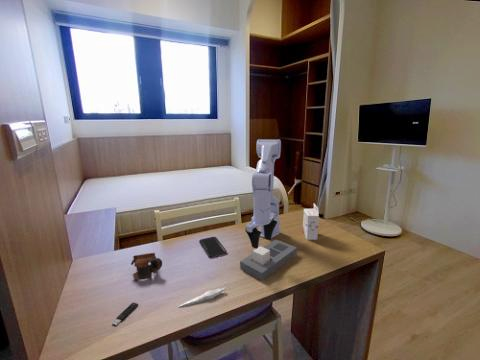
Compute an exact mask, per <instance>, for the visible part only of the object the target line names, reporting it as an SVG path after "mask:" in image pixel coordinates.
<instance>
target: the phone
mask: <svg viewBox="0 0 480 360" xmlns="http://www.w3.org/2000/svg"><path fill="white" fill-rule="evenodd" d="M198 242H199V245H200V246H201V248H202V249H203V250H204V252H205V255H206V256H207V257H208V258H209V259H212V258H216V257H220V256H225V255H226V254H228V253H227V252H228V251H227V249H226V248H225V247H224V246H223V244H222V243H221V242H220V240H219V239H218V238H217V237H216V236H211V237H206V238H201V239H199V241H198Z"/></svg>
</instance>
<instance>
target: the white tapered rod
mask: <svg viewBox="0 0 480 360" xmlns="http://www.w3.org/2000/svg"><path fill="white" fill-rule="evenodd" d="M226 290H227V289H226V287H222V288H216V289H209V290H207V291H205V292H204V293H203V294H201V295H198V296H196V297H194V298H192V299H190V300H188V301H186V302H184V303H182V304H180V305H179V306H177V308H181V307H185V306H190V305H193V304H194V305H195V304H197V303H201V302H204V301H206V300H207V301H209V300H212V299H214V298H215V297H218V296H220V295H222V294H224V293H225V291H226Z"/></svg>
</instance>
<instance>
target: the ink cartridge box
mask: <svg viewBox="0 0 480 360" xmlns="http://www.w3.org/2000/svg"><path fill="white" fill-rule="evenodd" d="M319 211H320V210H319V208H318V206H317V205H316V203H314V202H313V208H303V219H302V233H303V234H304V237H305V239H306V241H313V240H314V241H318V237H319V236H318V235H319V219H320V215H319V214H320V212H319Z"/></svg>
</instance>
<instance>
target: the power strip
mask: <svg viewBox="0 0 480 360" xmlns="http://www.w3.org/2000/svg"><path fill="white" fill-rule="evenodd" d="M262 247H263V248H266V249H268V250H270V262H268V263H267V264H266V265H264V266H261V265H259V264H257V263H255V262H253V253H251V254H249V255H248V256H247V257H244V258H243V259H241V260H240V261H239V269H240V270H242V271H244V272H245V273H247V274H249V275H250V276H253V277H254V278H256V279H258V280H259V281H264V280H265V279H266V278H268V277H269V276H270V275H272V274H273V273H275V271H277V270H279V269H280V268H281V267H282V266H283V265H285V264H287V262H289V261H290V260H291V259H293V258H294V257H296V256H297V254H298V247H296V246H295V245H292V244H289V243H287V242H283V241H281V240H279V239H274V240H272V241H271V242H269V243H268V244H266V245H265V246H262Z"/></svg>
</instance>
